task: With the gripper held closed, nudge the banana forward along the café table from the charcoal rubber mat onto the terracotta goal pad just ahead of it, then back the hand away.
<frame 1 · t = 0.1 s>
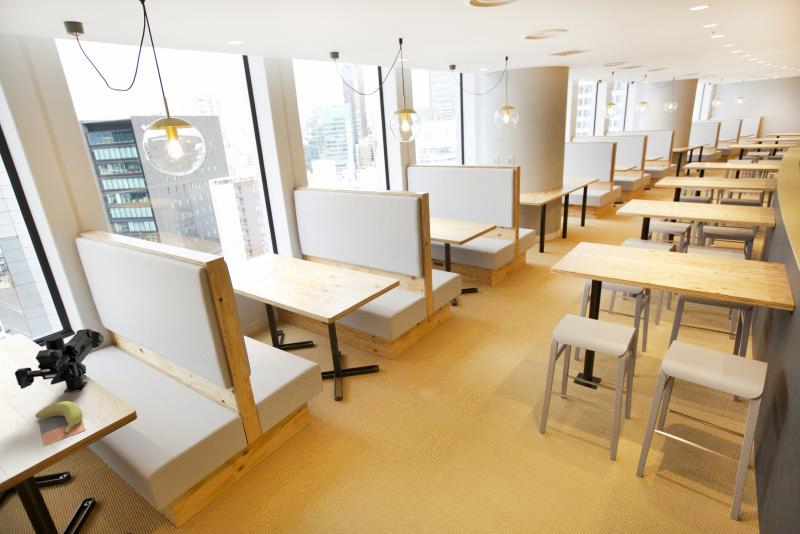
hand: (36, 385, 155), 17 cm above the table, tool horizontal, fingers open, 9 cm apart
banana: (61, 423, 161), on the table, touching goal pad, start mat
goal pad: (63, 432, 156), on the table
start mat: (60, 421, 162), on the table
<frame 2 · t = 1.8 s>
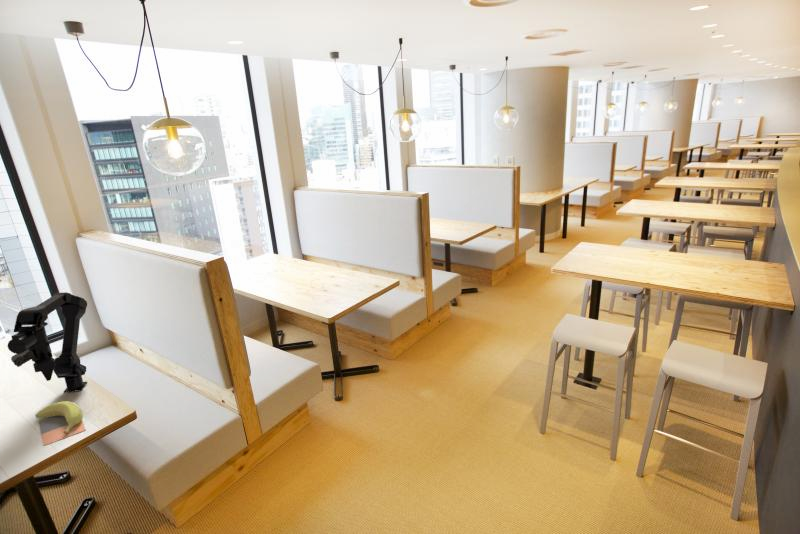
hand: (48, 377, 167), 13 cm above the table, tool pointing down, fingers open, 5 cm apart
nothing on the table moved.
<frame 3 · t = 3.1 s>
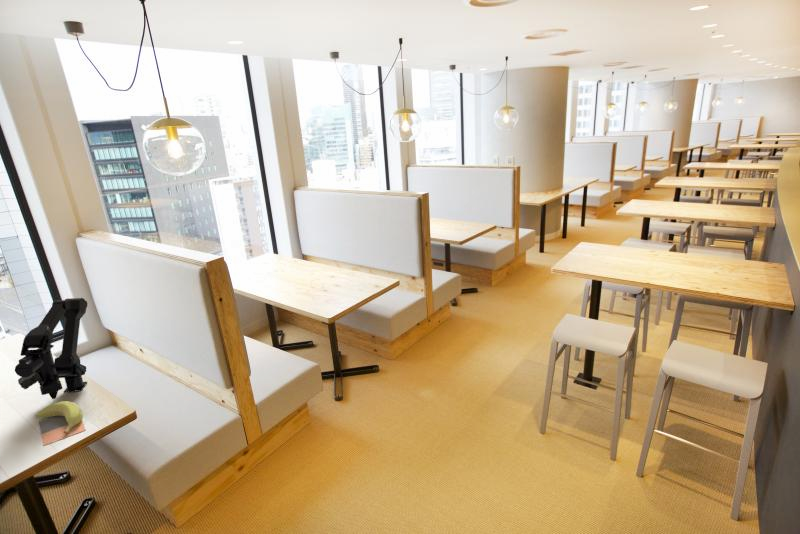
hand: (54, 398, 170), 4 cm above the table, tool pointing down, fingers closed
nothing on the table moved.
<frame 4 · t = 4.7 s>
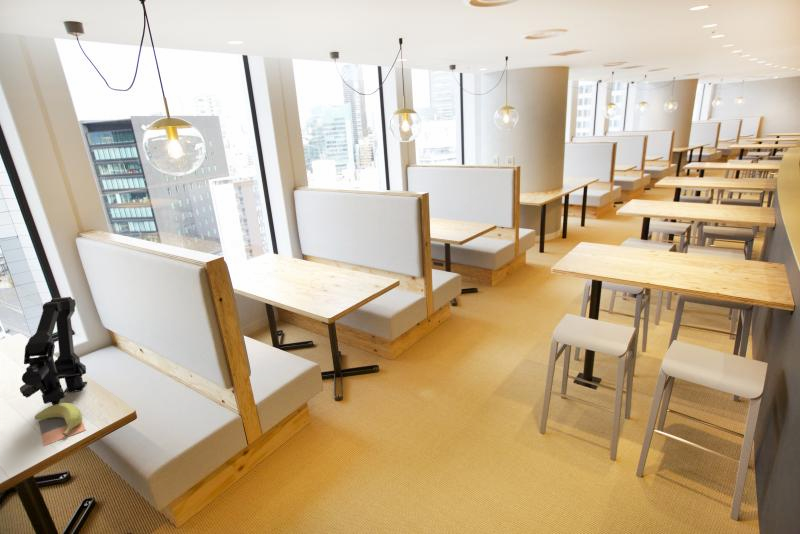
hand: (56, 406, 166), 3 cm above the table, tool pointing down, fingers closed
banana: (60, 425, 160), on the table, touching gripper
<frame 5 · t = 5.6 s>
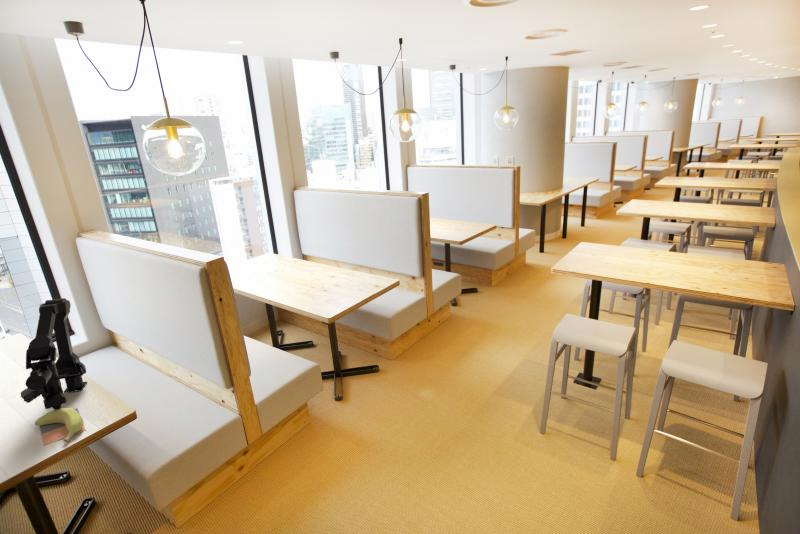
hand: (57, 411, 163), 3 cm above the table, tool pointing down, fingers closed
banana: (61, 431, 156), on the table, touching gripper, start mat
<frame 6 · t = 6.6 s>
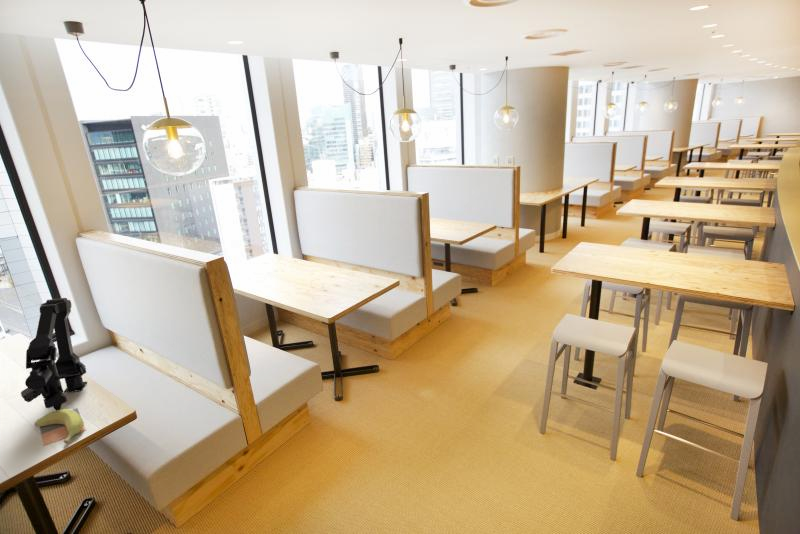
hand: (58, 411, 164), 2 cm above the table, tool pointing down, fingers closed
banana: (61, 432, 156), on the table, touching goal pad, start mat
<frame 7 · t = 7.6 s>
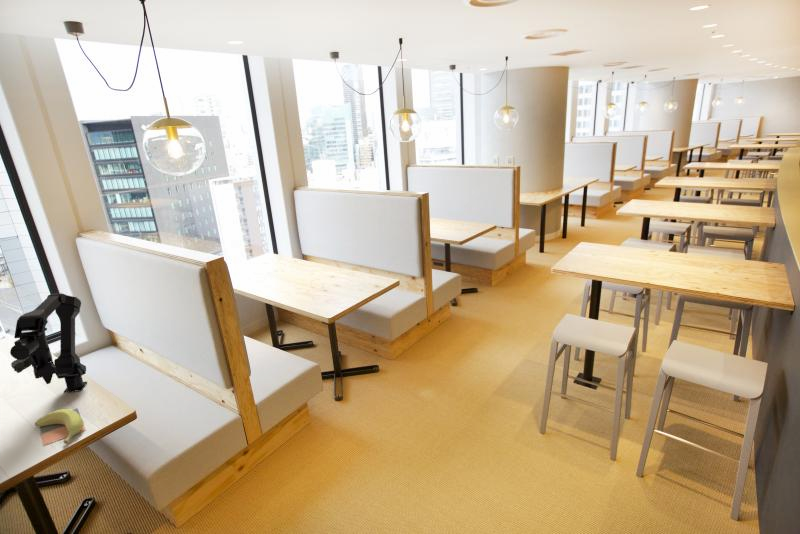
hand: (48, 383, 165), 12 cm above the table, tool pointing down, fingers closed
nothing on the table moved.
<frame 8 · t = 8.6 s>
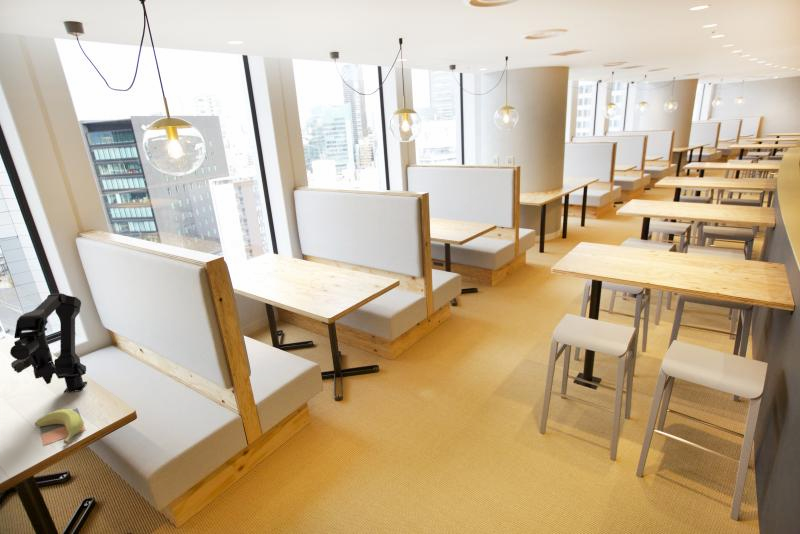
hand: (48, 383, 165), 12 cm above the table, tool pointing down, fingers closed
nothing on the table moved.
at the end: banana 1.1 cm from the goal pad (horizontally); banana moved 6.2 cm from its start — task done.
